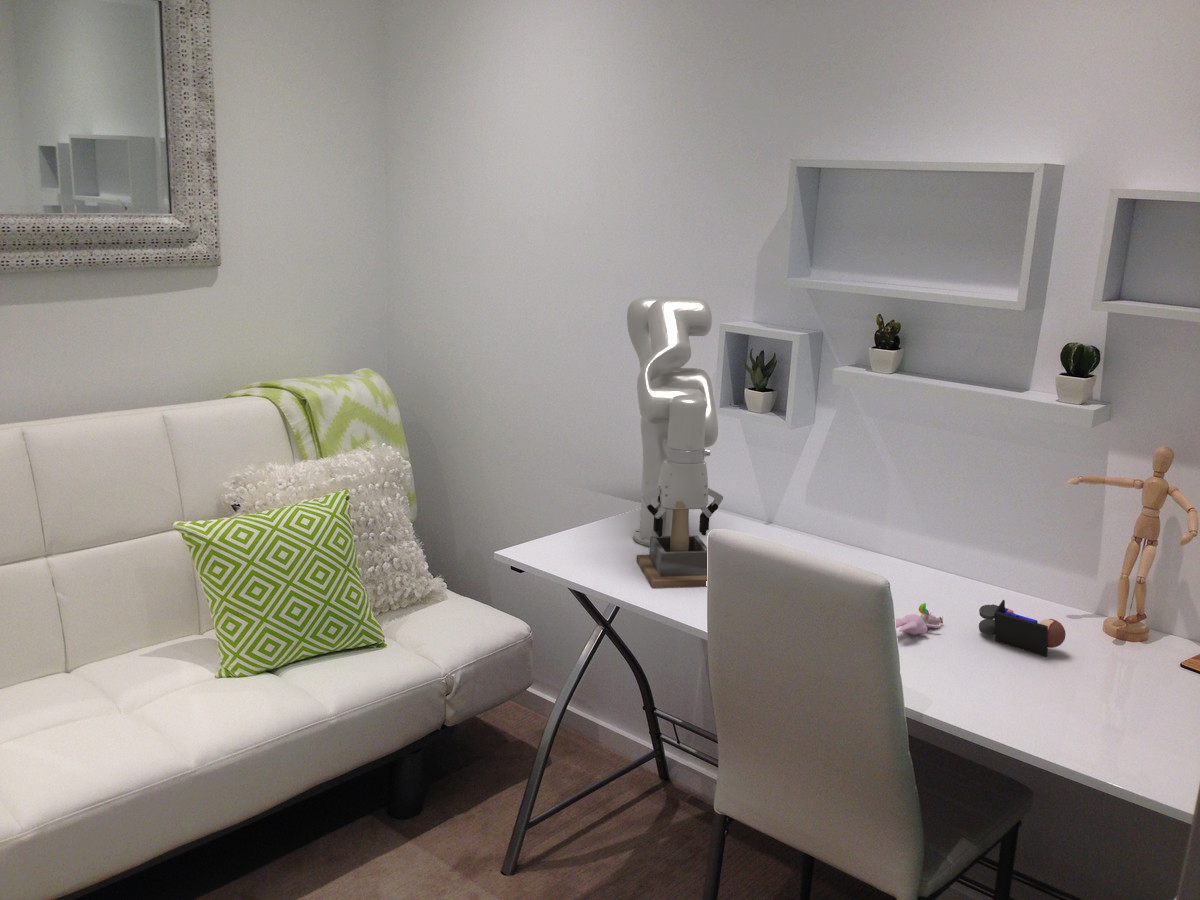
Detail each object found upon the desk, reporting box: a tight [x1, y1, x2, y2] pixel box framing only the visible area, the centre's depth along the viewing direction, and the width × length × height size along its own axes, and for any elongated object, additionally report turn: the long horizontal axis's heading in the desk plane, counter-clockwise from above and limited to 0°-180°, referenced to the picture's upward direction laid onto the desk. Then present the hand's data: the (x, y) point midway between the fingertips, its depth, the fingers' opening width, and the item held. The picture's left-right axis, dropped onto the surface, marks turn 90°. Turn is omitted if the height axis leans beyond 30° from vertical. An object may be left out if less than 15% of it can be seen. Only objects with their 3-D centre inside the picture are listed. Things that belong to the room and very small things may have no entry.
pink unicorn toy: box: [894, 602, 944, 636], centre depth 194 cm, size 6×6×15 cm
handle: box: [670, 502, 690, 552], centre depth 219 cm, size 5×6×15 cm
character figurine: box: [978, 599, 1067, 658], centre depth 190 cm, size 8×7×15 cm
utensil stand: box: [635, 535, 708, 589], centre depth 220 cm, size 16×15×6 cm
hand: (680, 534), depth 219 cm, fingers open, 9 cm apart
